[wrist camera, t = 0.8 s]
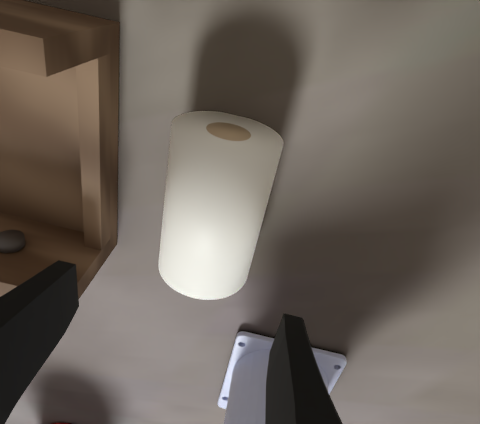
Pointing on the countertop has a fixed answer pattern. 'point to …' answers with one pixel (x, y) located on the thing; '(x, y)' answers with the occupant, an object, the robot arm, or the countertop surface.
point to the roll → (215, 201)
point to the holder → (57, 141)
